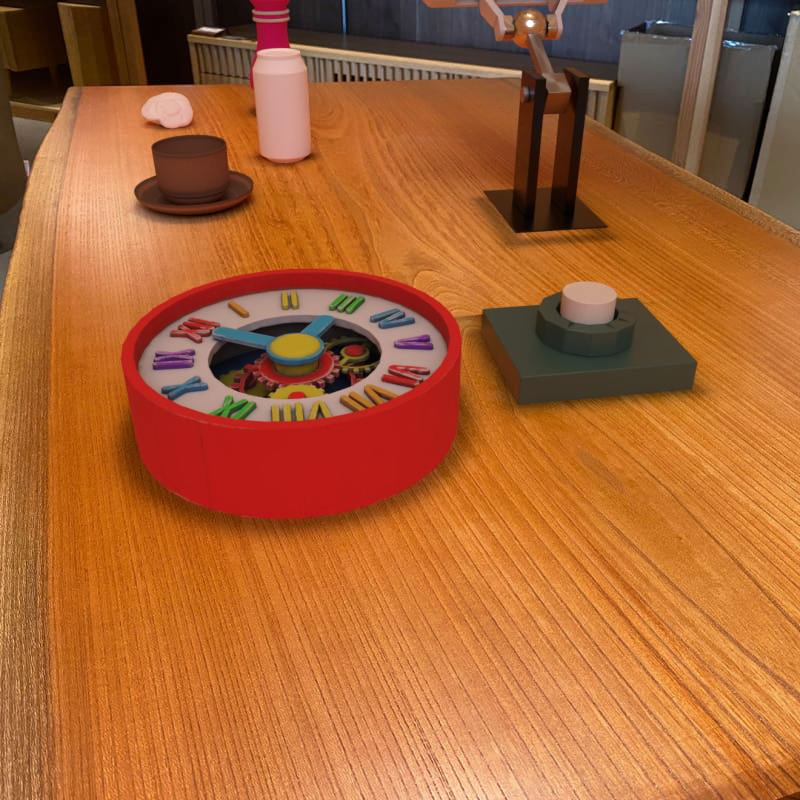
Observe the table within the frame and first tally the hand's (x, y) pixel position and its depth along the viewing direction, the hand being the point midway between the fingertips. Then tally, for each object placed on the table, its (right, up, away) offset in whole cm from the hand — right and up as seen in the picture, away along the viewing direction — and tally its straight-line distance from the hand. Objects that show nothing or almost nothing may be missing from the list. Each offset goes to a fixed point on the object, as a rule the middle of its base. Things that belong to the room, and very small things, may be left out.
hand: (530, 36), depth 82 cm
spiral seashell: (-44, +1, +32) cm, 54 cm away
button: (0, -30, -25) cm, 39 cm away
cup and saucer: (-34, -15, +5) cm, 38 cm away
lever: (0, -4, -1) cm, 4 cm away
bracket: (+1, -18, +1) cm, 18 cm away
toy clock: (-19, -37, -29) cm, 51 cm away
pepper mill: (-30, +5, +38) cm, 49 cm away
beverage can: (-26, -7, +19) cm, 33 cm away
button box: (0, -33, -23) cm, 40 cm away
